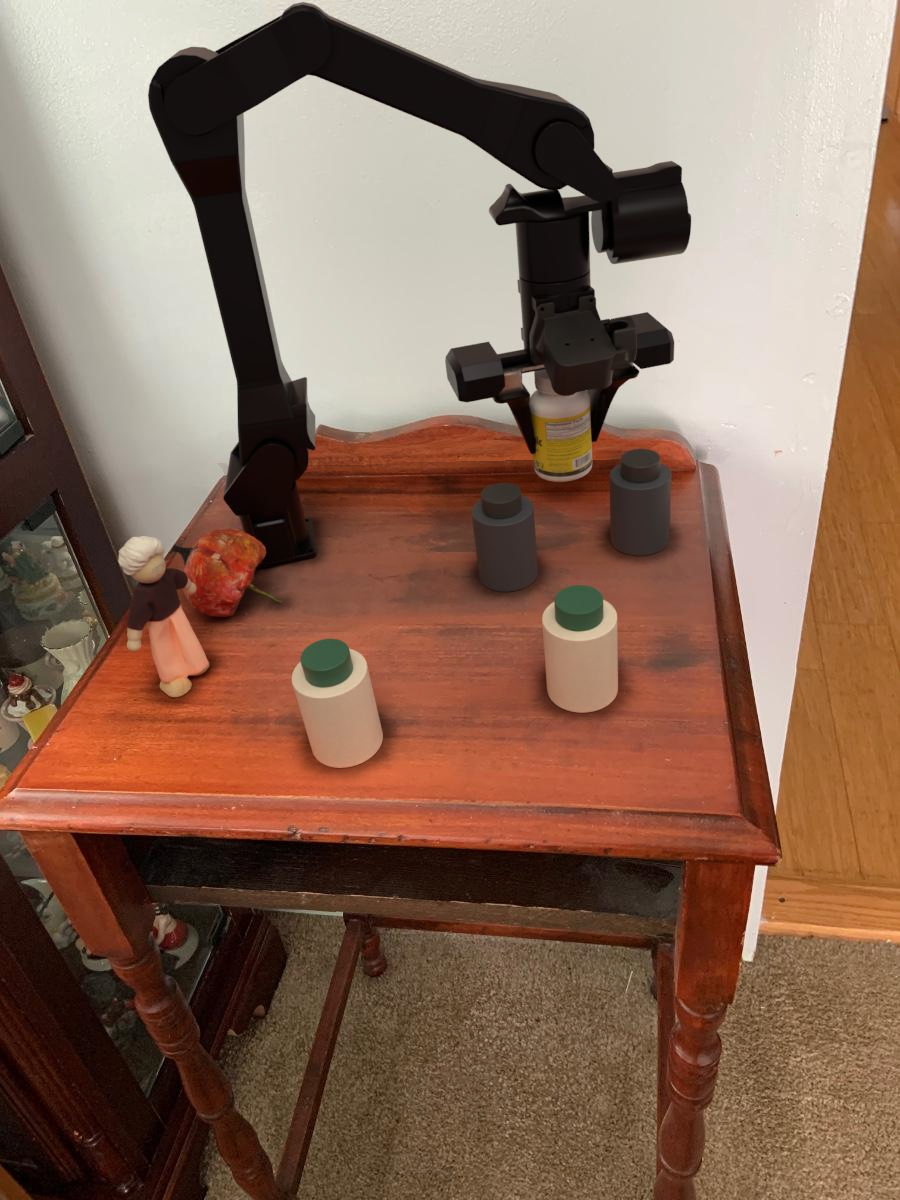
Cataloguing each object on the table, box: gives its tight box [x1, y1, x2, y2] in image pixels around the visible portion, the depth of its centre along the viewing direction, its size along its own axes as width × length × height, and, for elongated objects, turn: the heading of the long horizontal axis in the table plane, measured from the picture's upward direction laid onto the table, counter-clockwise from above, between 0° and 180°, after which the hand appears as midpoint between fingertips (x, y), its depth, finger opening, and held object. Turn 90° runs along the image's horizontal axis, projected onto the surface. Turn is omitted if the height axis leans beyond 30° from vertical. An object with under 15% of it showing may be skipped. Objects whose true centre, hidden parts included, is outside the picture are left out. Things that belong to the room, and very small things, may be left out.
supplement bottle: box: [529, 369, 593, 483], centre depth 81 cm, size 5×5×10 cm
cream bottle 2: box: [541, 584, 619, 714], centre depth 62 cm, size 5×5×8 cm
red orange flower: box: [168, 528, 282, 618], centre depth 76 cm, size 7×7×10 cm
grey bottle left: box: [471, 482, 539, 593], centre depth 75 cm, size 5×5×8 cm
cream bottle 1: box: [291, 638, 384, 769], centre depth 61 cm, size 5×5×8 cm
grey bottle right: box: [609, 448, 672, 557], centre depth 76 cm, size 5×5×8 cm
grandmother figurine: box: [117, 535, 210, 698], centre depth 68 cm, size 8×4×13 cm, turn 168°
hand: (562, 446), depth 82 cm, fingers closed on supplement bottle, 5 cm apart
